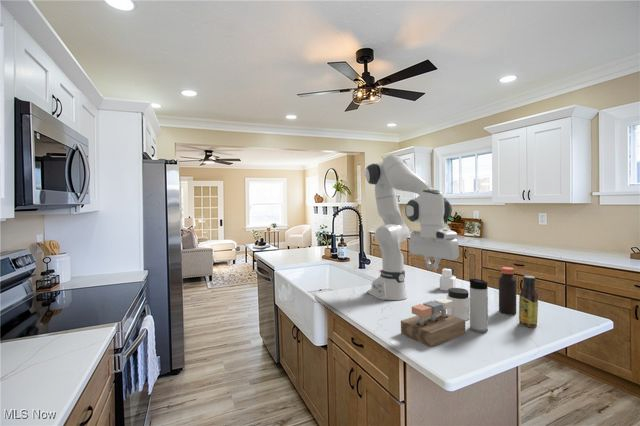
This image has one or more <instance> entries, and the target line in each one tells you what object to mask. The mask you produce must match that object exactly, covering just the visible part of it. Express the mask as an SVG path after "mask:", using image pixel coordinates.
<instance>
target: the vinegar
mask: <svg viewBox="0 0 640 426" xmlns="http://www.w3.org/2000/svg"><path fill="white" fill-rule="evenodd" d="M500 271H501V272H500V273H501V276H500V277H499V278H498V311H499V313H500V314H504V315H509V316H514V315H516V314H517V279H516V278H515V277H514V274H515V269H514V268H513V267H509V266H503V267H501V268H500Z"/></svg>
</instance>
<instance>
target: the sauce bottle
mask: <svg viewBox="0 0 640 426" xmlns="http://www.w3.org/2000/svg"><path fill="white" fill-rule="evenodd" d="M522 278H523V279H522V280H523V286H522V288H521V291H520V293H519V296H518V297H519V298H518V299H519V301H518V304H519V305H518V322H519V324H520V325H521V326H524V327H526V328H536V327H537V326H538V311H539V310H538V309H539V308H538V307H539V301H538V300H539V294H538V292H537V290H536V287H535V285H536V283H535V282H536V277H535V276H533V275H527V274H526V275H523V276H522Z"/></svg>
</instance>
